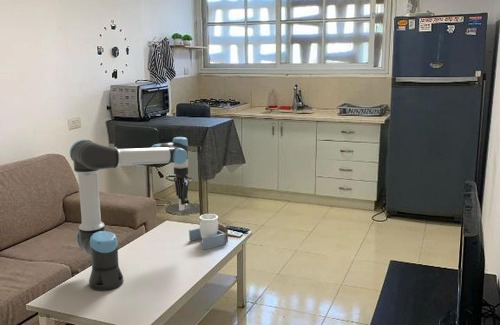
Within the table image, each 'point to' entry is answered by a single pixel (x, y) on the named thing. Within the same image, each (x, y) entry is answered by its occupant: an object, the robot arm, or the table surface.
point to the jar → (208, 225)
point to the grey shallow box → (208, 238)
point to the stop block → (223, 229)
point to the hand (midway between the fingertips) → (181, 209)
